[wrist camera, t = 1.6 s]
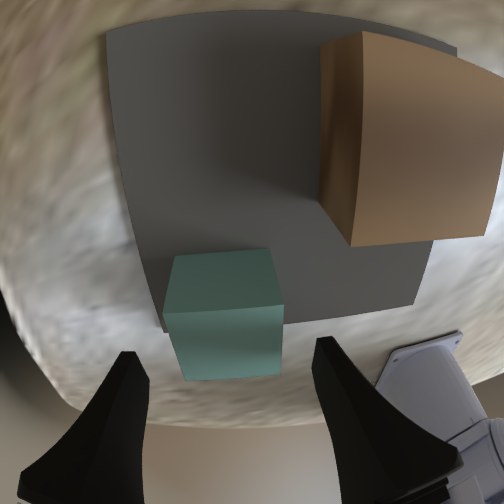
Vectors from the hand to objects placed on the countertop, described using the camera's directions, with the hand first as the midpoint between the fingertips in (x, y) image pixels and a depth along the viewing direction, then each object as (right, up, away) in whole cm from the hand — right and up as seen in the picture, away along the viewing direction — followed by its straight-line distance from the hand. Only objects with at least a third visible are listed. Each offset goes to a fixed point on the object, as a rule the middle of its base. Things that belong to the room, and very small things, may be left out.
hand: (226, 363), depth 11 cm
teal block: (0, +2, +4) cm, 5 cm away
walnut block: (+7, +10, 0) cm, 12 cm away
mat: (+3, +7, +2) cm, 8 cm away
